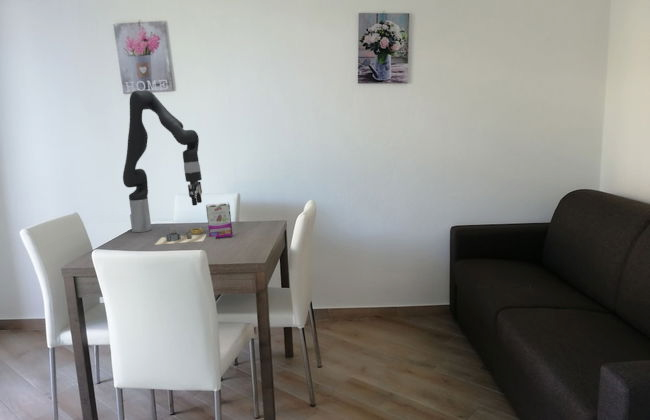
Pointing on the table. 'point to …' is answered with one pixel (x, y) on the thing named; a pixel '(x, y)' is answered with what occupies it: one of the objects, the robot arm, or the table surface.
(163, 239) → the gear board
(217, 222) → the candy bar box
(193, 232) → the brass gear
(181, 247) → the table surface
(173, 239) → the silver gear
